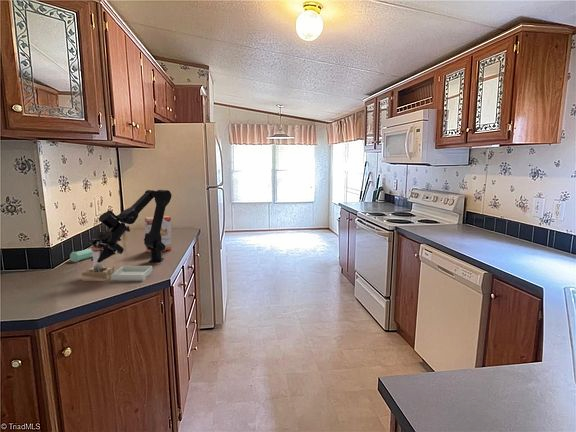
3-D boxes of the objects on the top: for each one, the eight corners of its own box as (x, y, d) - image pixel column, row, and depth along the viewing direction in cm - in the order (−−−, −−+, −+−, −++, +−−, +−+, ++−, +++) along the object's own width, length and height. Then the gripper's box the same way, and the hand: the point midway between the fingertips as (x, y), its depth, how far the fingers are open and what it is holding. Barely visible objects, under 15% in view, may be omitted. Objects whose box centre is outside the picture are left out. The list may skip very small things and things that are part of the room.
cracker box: (148, 253, 207) (146, 218, 204) (145, 251, 212) (144, 217, 209) (172, 250, 215) (170, 216, 212) (168, 248, 220) (167, 215, 217)
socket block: (92, 273, 168) (92, 266, 167) (114, 273, 168) (114, 266, 168) (82, 280, 158) (81, 273, 157) (105, 280, 159) (104, 273, 158)
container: (107, 241, 211) (71, 250, 187) (114, 245, 210) (79, 255, 186) (104, 249, 212) (68, 259, 188) (112, 254, 211) (76, 264, 187)
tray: (123, 271, 172) (123, 265, 171) (152, 271, 173) (152, 265, 172) (111, 281, 158) (110, 274, 157) (143, 281, 159) (142, 274, 158)
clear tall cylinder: (96, 275, 165) (94, 246, 163) (106, 274, 166) (104, 246, 164) (91, 278, 161) (88, 248, 159) (101, 278, 161) (99, 248, 159)
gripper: (91, 222, 167) (69, 249, 159) (116, 226, 158) (94, 255, 151) (107, 235, 175) (87, 262, 167) (132, 239, 167) (112, 268, 159)
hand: (95, 261), depth 161 cm, fingers closed on clear tall cylinder, 4 cm apart
